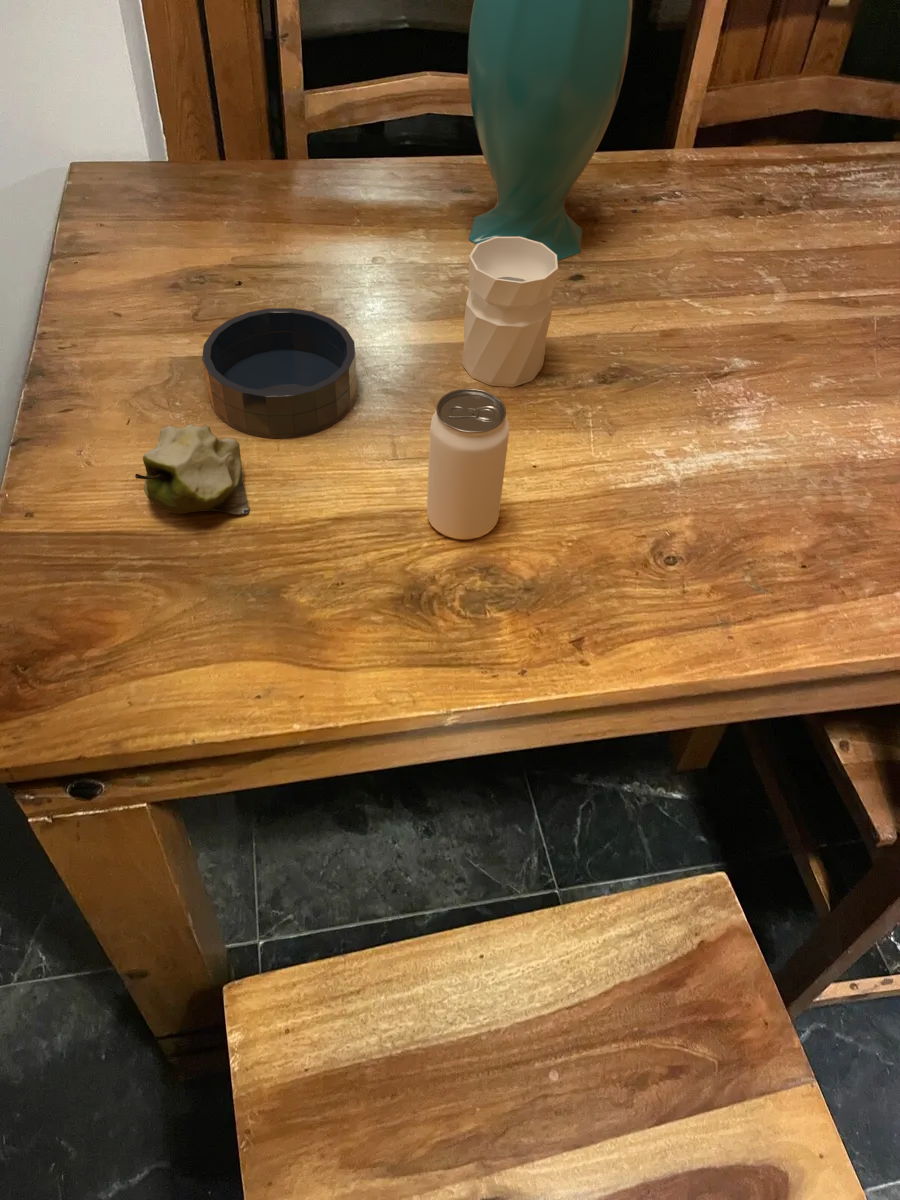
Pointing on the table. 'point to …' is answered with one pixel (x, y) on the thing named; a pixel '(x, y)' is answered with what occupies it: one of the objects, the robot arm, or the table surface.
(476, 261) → the vase
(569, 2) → the vase
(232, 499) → the fruit
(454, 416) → the can
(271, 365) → the pan
